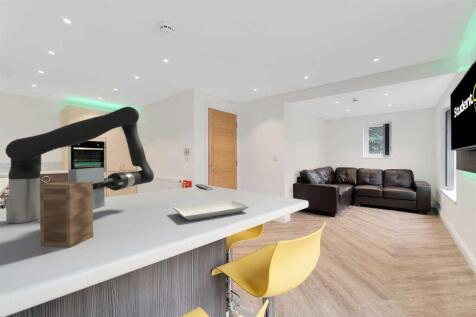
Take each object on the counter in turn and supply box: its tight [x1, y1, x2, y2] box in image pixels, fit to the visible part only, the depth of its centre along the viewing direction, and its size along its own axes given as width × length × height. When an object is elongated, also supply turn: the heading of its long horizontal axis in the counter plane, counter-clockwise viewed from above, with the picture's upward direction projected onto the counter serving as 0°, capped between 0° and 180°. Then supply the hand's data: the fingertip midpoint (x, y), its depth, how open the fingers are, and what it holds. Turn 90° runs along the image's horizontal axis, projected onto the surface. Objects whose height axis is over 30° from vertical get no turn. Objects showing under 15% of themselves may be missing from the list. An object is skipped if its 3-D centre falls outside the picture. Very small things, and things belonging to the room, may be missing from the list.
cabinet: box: [39, 180, 94, 248], centre depth 68 cm, size 12×12×18 cm
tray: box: [172, 199, 250, 221], centre depth 98 cm, size 17×32×4 cm, turn 121°
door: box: [68, 167, 106, 211], centre depth 77 cm, size 12×3×15 cm, turn 172°
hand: (89, 186), depth 78 cm, fingers closed on door, 3 cm apart
